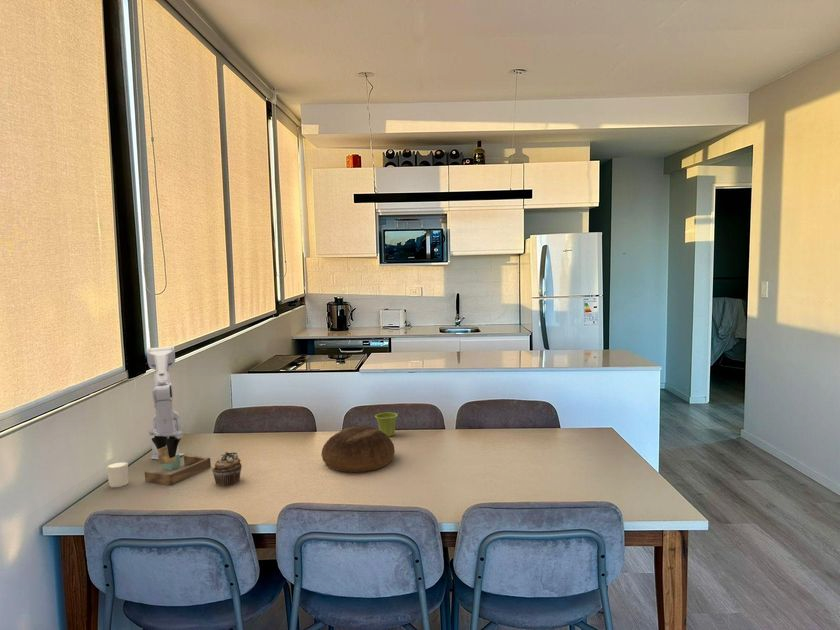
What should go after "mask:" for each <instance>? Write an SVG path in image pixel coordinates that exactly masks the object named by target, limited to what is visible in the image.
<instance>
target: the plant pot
mask: <svg viewBox="0 0 840 630" xmlns="http://www.w3.org/2000/svg"><path fill="white" fill-rule="evenodd" d="M397 417H398V413H396V412H381V413H377V414H376V415H375V418H376V421H377V426H378V430H380V431H382V432H383V433H385V434H386V435H387V436H388V437H389V438H390V437H392V436H395V431H396V423H397V422H396V420H397Z"/></svg>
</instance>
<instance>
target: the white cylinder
mask: <svg viewBox="0 0 840 630" xmlns="http://www.w3.org/2000/svg"><path fill="white" fill-rule="evenodd" d="M105 468H106V473H107V474H106V475H107V479H108V483H109V485H108V486H109V487H110V488H120V487H124V486H126V485H127V484H129V463H128V461H118V462H113V463H109V464H108V465H106V466H105Z"/></svg>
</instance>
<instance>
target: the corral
mask: <svg viewBox="0 0 840 630" xmlns="http://www.w3.org/2000/svg"><path fill="white" fill-rule="evenodd" d="M183 463H184V466H186V467H184V468H181V469H179V470H177V471H174V472H172V473H164V472H157V471H150V470H146V471H144V482H146V483H153V484H158V485H159V484H161V485H166V486H173V485H176V484H177V483H179V482H182V481H184V480H186V479H188V478H191V477H193V476H195V475H198V474H199V473H201V472H202V473H203V472H204V471H206V470H209V469H210V468H211V467H212V464H211V458H210V457H203V456H198V455H197V456H195V455H188V454H184V455H183Z"/></svg>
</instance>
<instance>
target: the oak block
mask: <svg viewBox="0 0 840 630" xmlns="http://www.w3.org/2000/svg"><path fill="white" fill-rule="evenodd" d="M158 459H159V460H158ZM158 459H157V460H158V464H163V465H164V464H169V463H171V462H174V461H176V455H175V457H173V458H170V457H169V453H168V447H167V446H165V447H162V448H160V449H158Z"/></svg>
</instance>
